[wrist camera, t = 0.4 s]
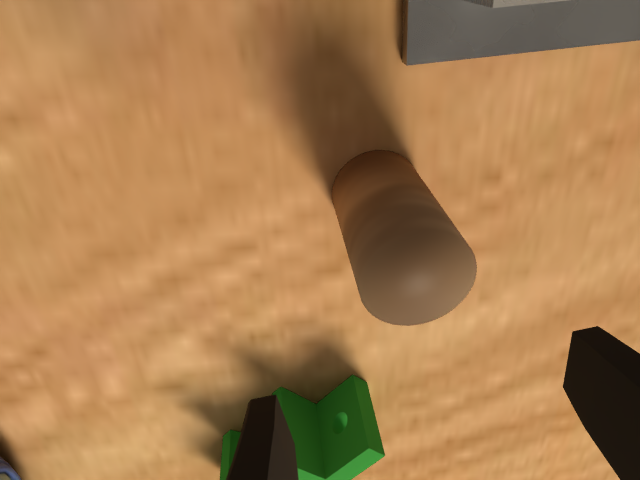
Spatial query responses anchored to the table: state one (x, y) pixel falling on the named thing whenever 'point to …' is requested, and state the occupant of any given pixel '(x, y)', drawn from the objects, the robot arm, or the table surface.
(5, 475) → the lunch box
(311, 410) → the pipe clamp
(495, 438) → the table surface
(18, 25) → the table surface
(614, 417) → the robot arm
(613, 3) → the mount
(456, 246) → the cylinder
